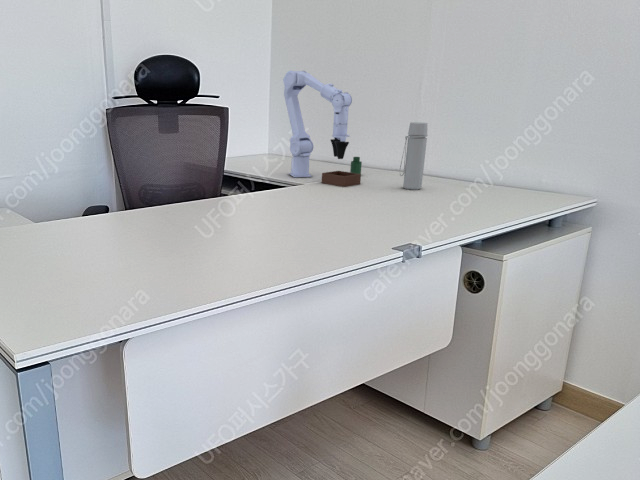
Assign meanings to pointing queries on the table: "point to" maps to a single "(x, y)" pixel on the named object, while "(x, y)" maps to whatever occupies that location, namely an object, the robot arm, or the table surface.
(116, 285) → the table surface
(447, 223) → the table surface
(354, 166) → the green bottle
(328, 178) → the tray
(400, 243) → the table surface
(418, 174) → the water bottle
